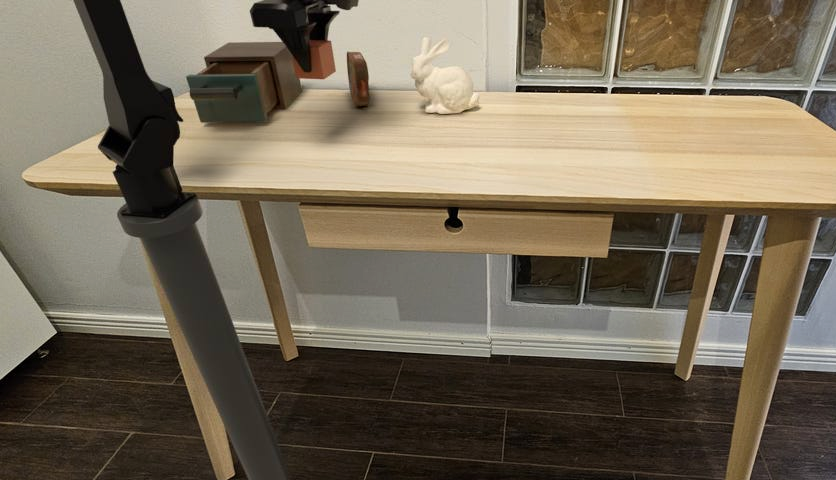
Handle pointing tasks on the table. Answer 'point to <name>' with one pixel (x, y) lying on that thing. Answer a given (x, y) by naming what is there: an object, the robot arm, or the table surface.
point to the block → (318, 61)
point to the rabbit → (442, 81)
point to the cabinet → (264, 51)
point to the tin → (358, 78)
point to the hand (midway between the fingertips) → (314, 68)
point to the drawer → (234, 91)
